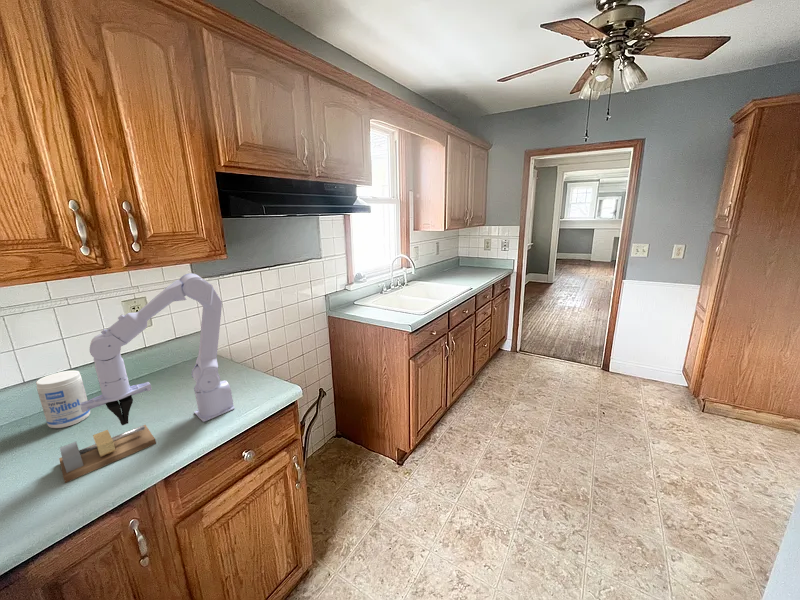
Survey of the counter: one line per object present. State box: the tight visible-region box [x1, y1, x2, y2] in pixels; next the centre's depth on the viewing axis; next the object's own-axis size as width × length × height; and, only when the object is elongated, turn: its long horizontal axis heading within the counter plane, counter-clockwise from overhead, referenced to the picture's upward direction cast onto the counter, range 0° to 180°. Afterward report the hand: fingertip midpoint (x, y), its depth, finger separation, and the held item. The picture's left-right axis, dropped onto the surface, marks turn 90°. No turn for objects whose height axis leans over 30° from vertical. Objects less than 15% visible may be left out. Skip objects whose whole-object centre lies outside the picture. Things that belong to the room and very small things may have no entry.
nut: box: [92, 429, 116, 457], centre depth 86 cm, size 3×7×3 cm, turn 49°
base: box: [58, 424, 157, 484], centre depth 87 cm, size 18×10×5 cm, turn 139°
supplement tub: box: [35, 369, 91, 429], centre depth 100 cm, size 10×10×15 cm
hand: (124, 423), depth 91 cm, fingers closed
